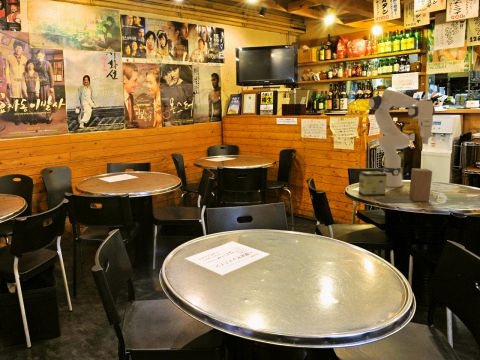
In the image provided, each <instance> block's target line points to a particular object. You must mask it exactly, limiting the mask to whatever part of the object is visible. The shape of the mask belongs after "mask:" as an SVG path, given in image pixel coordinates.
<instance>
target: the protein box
mask: <svg viewBox="0 0 480 360" xmlns="http://www.w3.org/2000/svg"><path fill="white" fill-rule="evenodd" d="M383 172H384V171H383ZM383 172H382V171H379V170H378V171H377V170H375V171H359V175H358V176H359V180H358V181H359V182H358V184H359V185H358V194H360V195H361V196H362V197H385V196H386V192H387V190H386V189H387V186H386V176H387V174H385V173H383Z"/></svg>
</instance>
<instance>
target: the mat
mask: <svg viewBox="0 0 480 360" xmlns="http://www.w3.org/2000/svg"><path fill="white" fill-rule="evenodd" d="M373 199H374V200H375V201H378V202H380V203H381V204H404V203H405V204H409V203H415V204H416V203H417V201H413V200H411V199H410V198H408V197H374V198H373Z"/></svg>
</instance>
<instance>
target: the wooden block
mask: <svg viewBox="0 0 480 360" xmlns="http://www.w3.org/2000/svg"><path fill="white" fill-rule="evenodd" d="M432 177H433V171H432V170H430V169H428V168H413V167H412V168H411V174H410V183H409V193H408V197H409V198H408V199H410V200H412V201H414V202H424V203H425V202H430V196H431V186H432Z"/></svg>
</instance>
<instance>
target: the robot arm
mask: <svg viewBox="0 0 480 360" xmlns="http://www.w3.org/2000/svg"><path fill="white" fill-rule="evenodd" d="M368 106H369V108H370V109H371V110H375V111H374V118H375V121H376V123H377V126H378V128H379V130H380V132H381V133H382V134H383V135H382V136H380V138H379V139H378V145H379V147H380V149H382V151H383V153H384V157H385V158H384V159H385V164H384V167H383V173H385V174H387V176H386V187H388V188H400V187H402V186H404V183H403V174H402V173H401V172H402V167H401V165H402V156H401V155H399V154H398V153H397V150H401V149H403V150H404V149H405V148H408V147H409V146H410V144H411V139H410V137H409V136H408V135H407V134H405V133H403V132H402V131H401V130H400V129H399V128H398V127H397V126H396V124H395V122H394V121H393V119H392V118H393V117H392V116H391V115H390V111H393V110H394V108H408V109H407V114H408V117H409V118H410V119H412V120H413V119H414V120H415V119H418V121H417V122H418V125H417V126H418V127H420V131H419V133H420V135H419V136H420V137H421V141H422V144H424V145H428V144H429V138H431V135H432V130H433V129H432V128H433V127H432V126H434V125H433V124H434V123H433V122H434V117H433V116H434V115H435V112H436V111H435V109H436V108H435V107H434V104H433V100H432V99H429V98H420V99H416V98H413V97H411V96H410V95H407V94H406V93H403V92H401V91H400V90H399V89H396V88H393V87H388V88H385V89H384V91H383V93H382V94H376V95H374V96H372V97H370V98H369V102H368Z"/></svg>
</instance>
